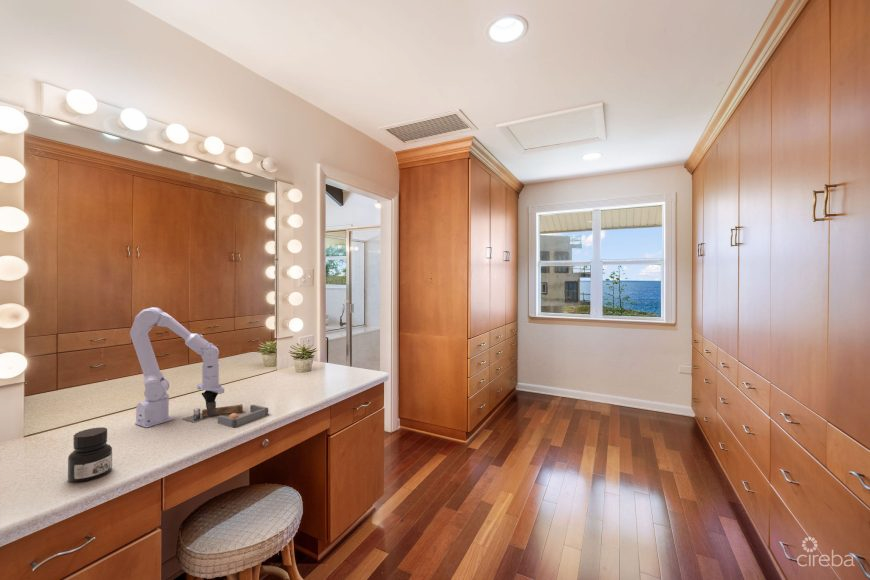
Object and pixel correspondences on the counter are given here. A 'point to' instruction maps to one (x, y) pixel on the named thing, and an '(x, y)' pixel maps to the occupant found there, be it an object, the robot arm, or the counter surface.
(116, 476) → the counter surface
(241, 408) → the lever
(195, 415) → the pivot base
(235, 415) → the ball
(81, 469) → the ink bottle
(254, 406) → the tray
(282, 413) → the counter surface
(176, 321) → the robot arm
